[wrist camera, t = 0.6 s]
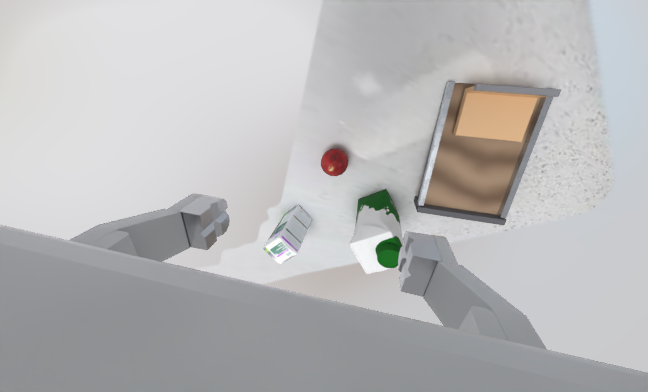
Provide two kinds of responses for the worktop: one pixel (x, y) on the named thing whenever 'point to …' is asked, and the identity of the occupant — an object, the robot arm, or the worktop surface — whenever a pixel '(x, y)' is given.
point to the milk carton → (377, 233)
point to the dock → (474, 166)
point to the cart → (498, 111)
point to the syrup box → (288, 235)
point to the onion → (334, 162)
